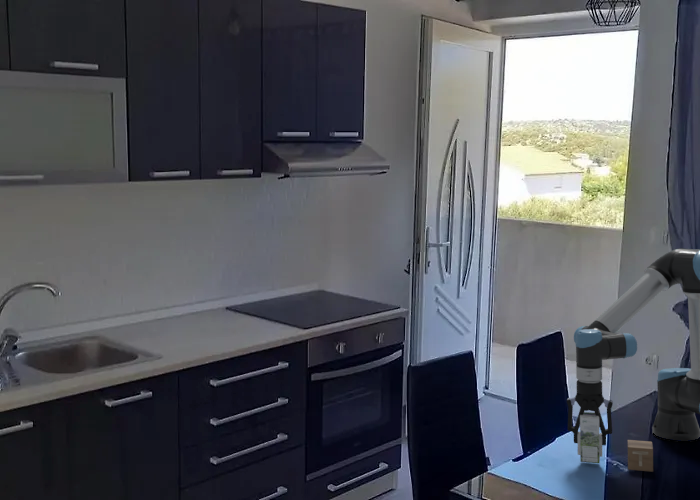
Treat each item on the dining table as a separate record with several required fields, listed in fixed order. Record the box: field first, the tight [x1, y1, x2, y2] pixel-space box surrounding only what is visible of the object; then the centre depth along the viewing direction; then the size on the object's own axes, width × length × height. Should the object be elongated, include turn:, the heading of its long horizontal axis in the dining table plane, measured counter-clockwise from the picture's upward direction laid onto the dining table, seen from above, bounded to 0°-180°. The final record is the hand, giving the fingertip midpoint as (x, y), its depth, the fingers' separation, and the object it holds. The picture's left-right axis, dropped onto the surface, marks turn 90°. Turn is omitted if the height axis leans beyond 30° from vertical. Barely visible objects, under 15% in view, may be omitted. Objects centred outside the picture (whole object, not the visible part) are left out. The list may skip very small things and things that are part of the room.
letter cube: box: [627, 439, 654, 473], centre depth 224 cm, size 7×7×7 cm
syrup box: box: [579, 411, 601, 464], centre depth 226 cm, size 6×6×14 cm
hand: (590, 454), depth 227 cm, fingers closed on syrup box, 6 cm apart
